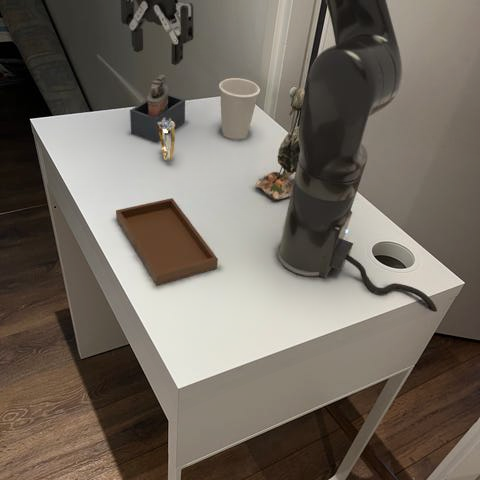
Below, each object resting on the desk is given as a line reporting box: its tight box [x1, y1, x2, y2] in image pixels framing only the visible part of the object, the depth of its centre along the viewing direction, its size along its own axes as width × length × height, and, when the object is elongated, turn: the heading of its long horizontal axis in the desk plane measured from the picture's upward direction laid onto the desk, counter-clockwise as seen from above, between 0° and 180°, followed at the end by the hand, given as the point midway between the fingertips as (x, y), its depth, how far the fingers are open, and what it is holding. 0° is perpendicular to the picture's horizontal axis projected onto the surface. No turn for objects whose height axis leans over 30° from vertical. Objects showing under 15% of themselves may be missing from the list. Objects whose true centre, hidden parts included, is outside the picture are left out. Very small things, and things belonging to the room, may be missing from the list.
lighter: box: [146, 74, 170, 117], centre depth 103 cm, size 8×3×10 cm, turn 168°
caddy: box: [129, 93, 186, 144], centre depth 105 cm, size 6×11×5 cm, turn 153°
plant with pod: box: [254, 87, 305, 201], centre depth 89 cm, size 8×11×20 cm
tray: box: [115, 197, 218, 286], centre depth 81 cm, size 17×10×2 cm, turn 29°
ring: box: [158, 117, 176, 161], centre depth 96 cm, size 7×3×8 cm, turn 16°
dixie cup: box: [218, 77, 261, 141], centre depth 105 cm, size 8×8×10 cm
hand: (157, 57), depth 96 cm, fingers open, 8 cm apart
